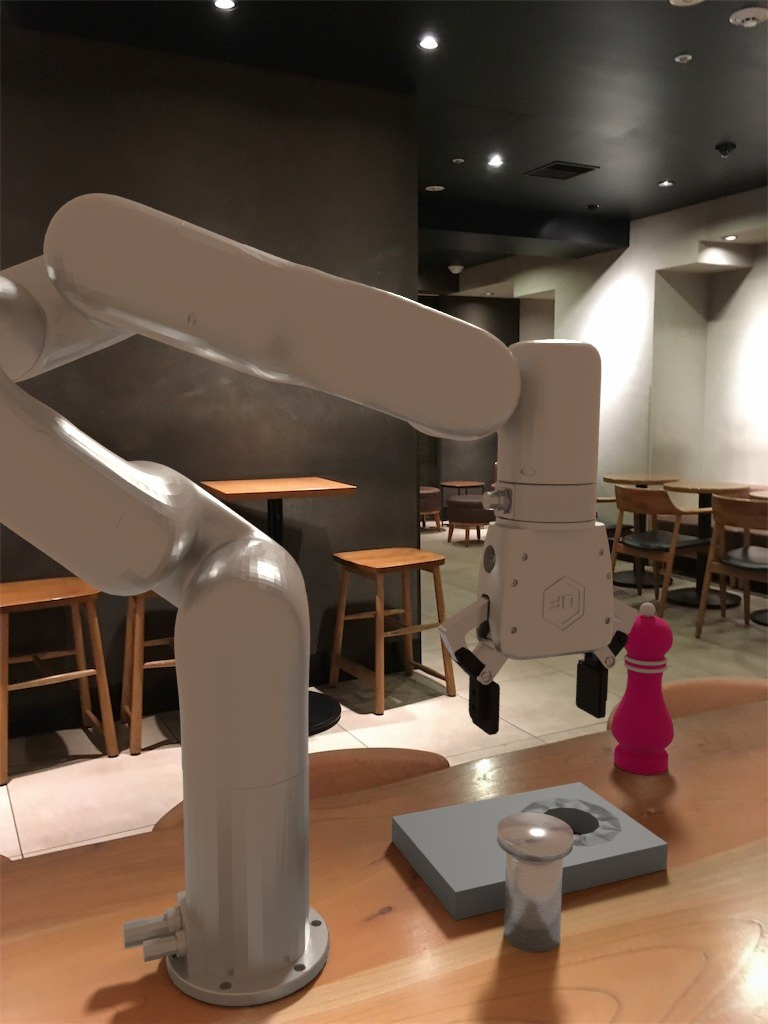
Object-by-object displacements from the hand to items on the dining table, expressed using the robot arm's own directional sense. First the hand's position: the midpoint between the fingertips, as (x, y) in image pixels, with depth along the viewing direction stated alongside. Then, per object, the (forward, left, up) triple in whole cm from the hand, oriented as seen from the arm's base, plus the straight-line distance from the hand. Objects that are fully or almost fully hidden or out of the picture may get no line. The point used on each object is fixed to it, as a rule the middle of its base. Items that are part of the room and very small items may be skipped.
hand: (538, 720), depth 66 cm
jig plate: (+6, +11, -18) cm, 22 cm away
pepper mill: (+30, +24, -18) cm, 42 cm away
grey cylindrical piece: (0, 0, -18) cm, 18 cm away
